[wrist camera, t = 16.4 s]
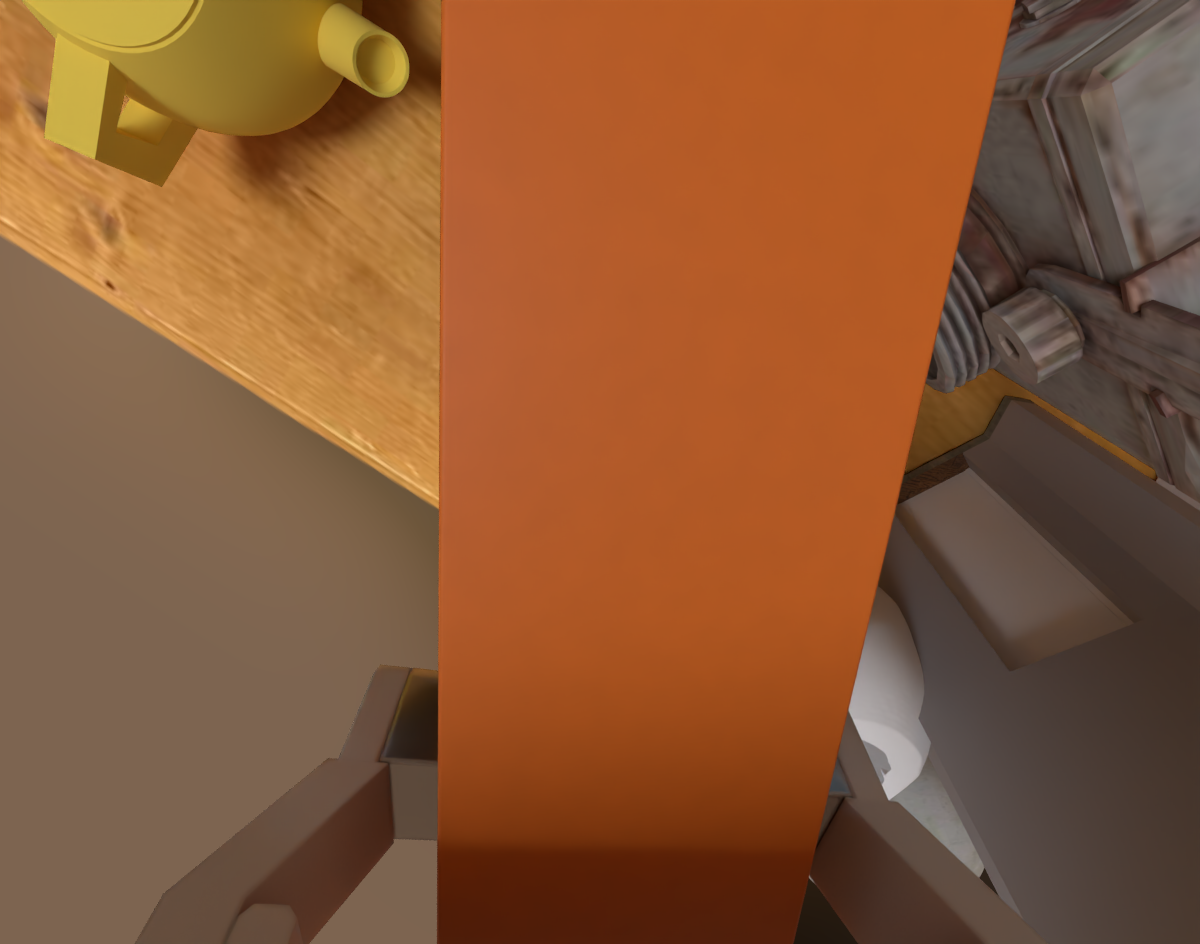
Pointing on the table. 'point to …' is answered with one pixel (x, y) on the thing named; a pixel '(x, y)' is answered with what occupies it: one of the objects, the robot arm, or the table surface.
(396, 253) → the table surface
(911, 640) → the skull
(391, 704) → the robot arm
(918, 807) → the decorative sphere
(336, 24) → the teapot
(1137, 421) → the lantern
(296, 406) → the table surface
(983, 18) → the orange rectangular bar
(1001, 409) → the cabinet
